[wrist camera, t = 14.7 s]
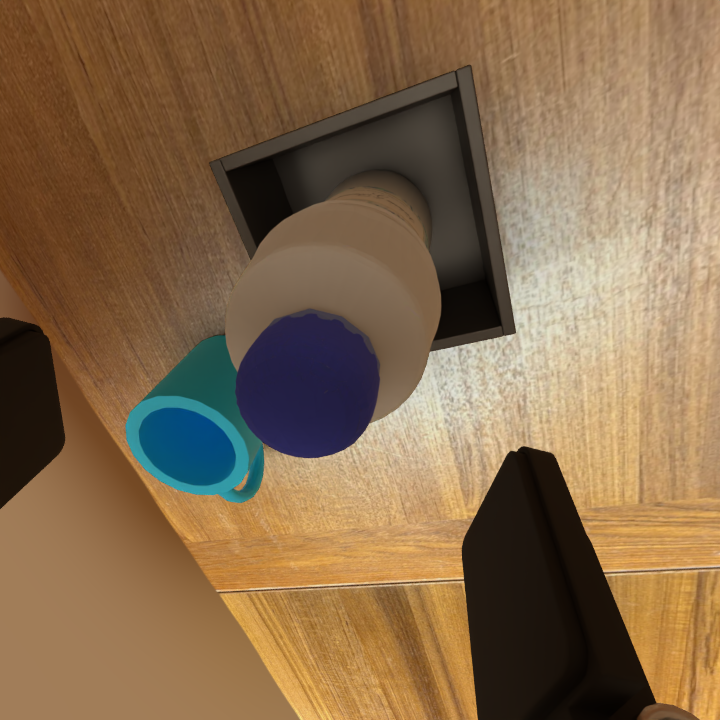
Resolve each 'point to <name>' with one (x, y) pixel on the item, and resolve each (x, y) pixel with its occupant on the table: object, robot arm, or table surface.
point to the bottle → (335, 316)
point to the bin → (414, 162)
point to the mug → (198, 428)
